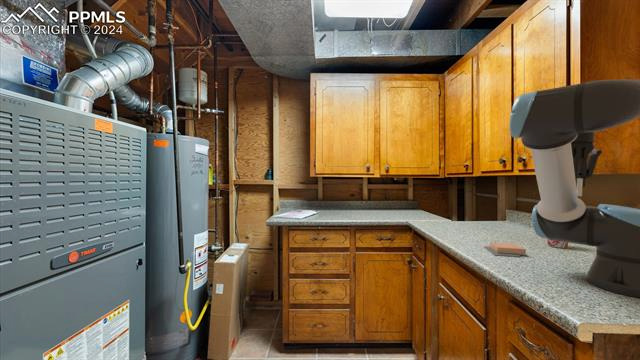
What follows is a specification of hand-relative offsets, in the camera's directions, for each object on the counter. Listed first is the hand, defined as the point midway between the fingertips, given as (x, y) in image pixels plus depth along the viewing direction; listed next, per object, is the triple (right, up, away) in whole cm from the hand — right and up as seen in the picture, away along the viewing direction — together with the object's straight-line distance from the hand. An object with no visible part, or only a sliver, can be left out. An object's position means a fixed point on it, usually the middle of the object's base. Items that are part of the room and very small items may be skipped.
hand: (577, 195), depth 101 cm
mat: (-20, -24, +12) cm, 33 cm away
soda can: (+10, -24, +20) cm, 33 cm away
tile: (-13, -22, +10) cm, 28 cm away
